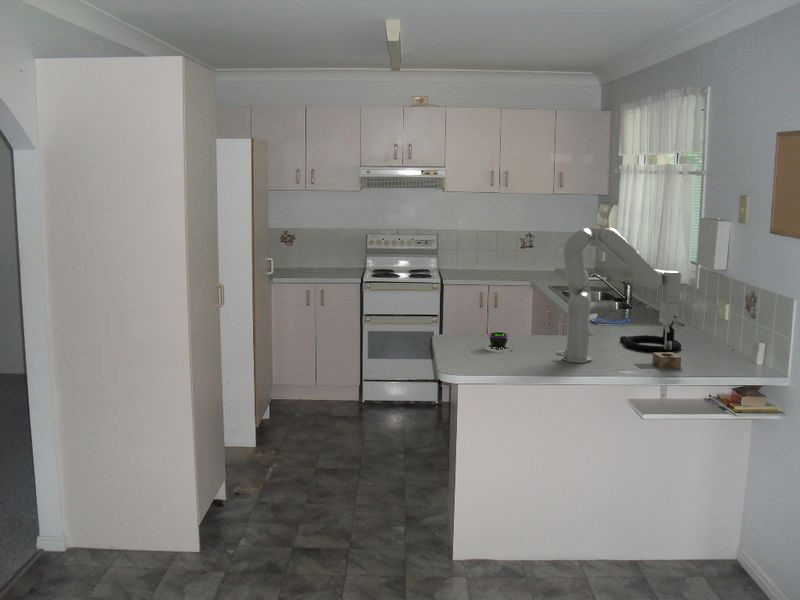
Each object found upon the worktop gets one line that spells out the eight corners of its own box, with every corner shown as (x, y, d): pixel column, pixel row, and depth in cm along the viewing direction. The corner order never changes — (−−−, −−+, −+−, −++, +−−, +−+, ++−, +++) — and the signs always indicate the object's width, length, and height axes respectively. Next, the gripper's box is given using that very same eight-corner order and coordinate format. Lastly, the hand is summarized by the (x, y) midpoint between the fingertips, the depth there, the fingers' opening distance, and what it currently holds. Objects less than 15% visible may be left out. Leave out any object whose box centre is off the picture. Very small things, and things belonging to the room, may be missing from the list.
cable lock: (669, 349, 369) (609, 340, 388) (668, 357, 369) (608, 347, 388) (689, 339, 390) (632, 331, 409) (689, 347, 390) (631, 338, 409)
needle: (665, 349, 346) (667, 318, 344) (663, 348, 349) (664, 317, 347) (672, 349, 346) (674, 318, 344) (669, 348, 349) (671, 317, 347)
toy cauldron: (519, 350, 379) (520, 328, 377) (493, 353, 372) (494, 331, 370) (502, 344, 392) (502, 323, 390) (476, 347, 385) (477, 325, 384)
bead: (660, 368, 344) (661, 357, 343) (652, 363, 353) (653, 352, 352) (680, 368, 345) (681, 357, 344) (671, 363, 354) (672, 352, 353)
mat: (640, 369, 343) (640, 368, 343) (632, 364, 352) (633, 363, 352) (682, 369, 345) (682, 368, 345) (673, 364, 354) (673, 363, 354)
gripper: (654, 296, 352) (652, 336, 355) (670, 302, 336) (667, 344, 339) (670, 296, 352) (668, 336, 355) (687, 302, 336) (684, 343, 339)
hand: (668, 339), depth 347 cm, fingers closed on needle, 3 cm apart
